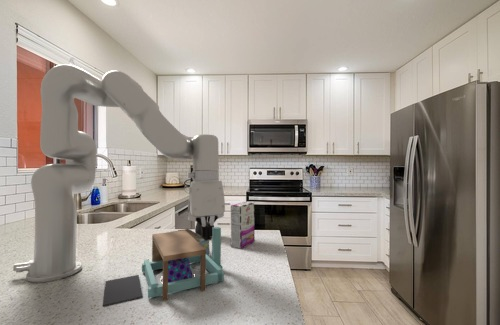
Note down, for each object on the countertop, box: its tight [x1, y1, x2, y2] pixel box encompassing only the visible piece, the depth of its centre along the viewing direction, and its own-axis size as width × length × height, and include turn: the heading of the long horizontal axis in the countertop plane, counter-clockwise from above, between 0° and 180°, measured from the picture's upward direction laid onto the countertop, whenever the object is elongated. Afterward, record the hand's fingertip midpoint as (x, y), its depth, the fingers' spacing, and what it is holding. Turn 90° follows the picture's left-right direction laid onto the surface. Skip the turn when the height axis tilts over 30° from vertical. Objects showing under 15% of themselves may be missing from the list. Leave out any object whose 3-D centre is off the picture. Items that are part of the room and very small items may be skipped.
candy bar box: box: [230, 201, 256, 250], centre depth 97 cm, size 11×5×16 cm, turn 151°
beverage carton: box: [172, 228, 210, 257], centre depth 88 cm, size 8×19×7 cm, turn 37°
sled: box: [141, 226, 225, 299], centre depth 68 cm, size 21×17×12 cm
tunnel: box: [151, 229, 206, 302], centre depth 67 cm, size 10×21×10 cm, turn 29°
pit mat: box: [102, 274, 143, 307], centre depth 60 cm, size 8×13×1 cm, turn 29°
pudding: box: [155, 258, 200, 285], centre depth 67 cm, size 12×12×5 cm
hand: (206, 238), depth 71 cm, fingers closed
